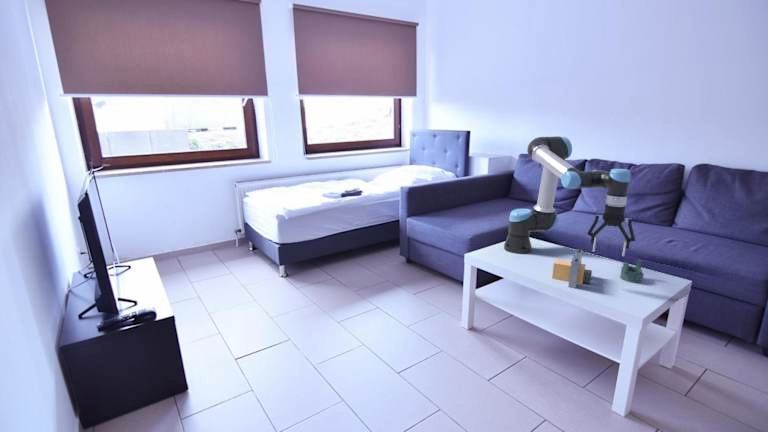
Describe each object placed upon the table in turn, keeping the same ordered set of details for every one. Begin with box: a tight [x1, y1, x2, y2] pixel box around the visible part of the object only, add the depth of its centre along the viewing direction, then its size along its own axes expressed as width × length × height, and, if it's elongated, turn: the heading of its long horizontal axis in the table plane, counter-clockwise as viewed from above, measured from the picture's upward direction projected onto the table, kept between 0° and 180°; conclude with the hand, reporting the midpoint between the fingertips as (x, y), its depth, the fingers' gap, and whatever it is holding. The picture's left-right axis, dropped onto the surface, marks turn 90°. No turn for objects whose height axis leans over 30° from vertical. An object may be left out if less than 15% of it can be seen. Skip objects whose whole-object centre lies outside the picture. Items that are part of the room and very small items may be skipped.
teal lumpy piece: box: [619, 259, 644, 284], centre depth 183 cm, size 9×9×9 cm
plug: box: [551, 259, 593, 285], centre depth 182 cm, size 6×16×8 cm, turn 59°
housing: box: [568, 248, 584, 289], centre depth 181 cm, size 18×3×13 cm, turn 149°
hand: (608, 252), depth 173 cm, fingers open, 11 cm apart
